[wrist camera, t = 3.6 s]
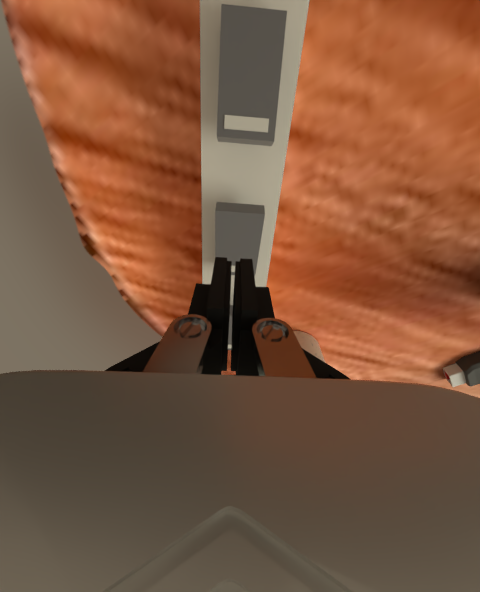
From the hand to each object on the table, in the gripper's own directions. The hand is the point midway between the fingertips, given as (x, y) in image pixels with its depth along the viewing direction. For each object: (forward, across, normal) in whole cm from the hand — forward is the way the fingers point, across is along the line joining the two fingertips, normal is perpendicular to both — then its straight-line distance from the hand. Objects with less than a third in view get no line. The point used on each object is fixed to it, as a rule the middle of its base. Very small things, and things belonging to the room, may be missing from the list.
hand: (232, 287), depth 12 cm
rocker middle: (+13, 0, +2) cm, 13 cm away
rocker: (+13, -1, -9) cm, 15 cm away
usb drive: (+18, -41, +22) cm, 50 cm away
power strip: (+18, 0, 0) cm, 18 cm away
